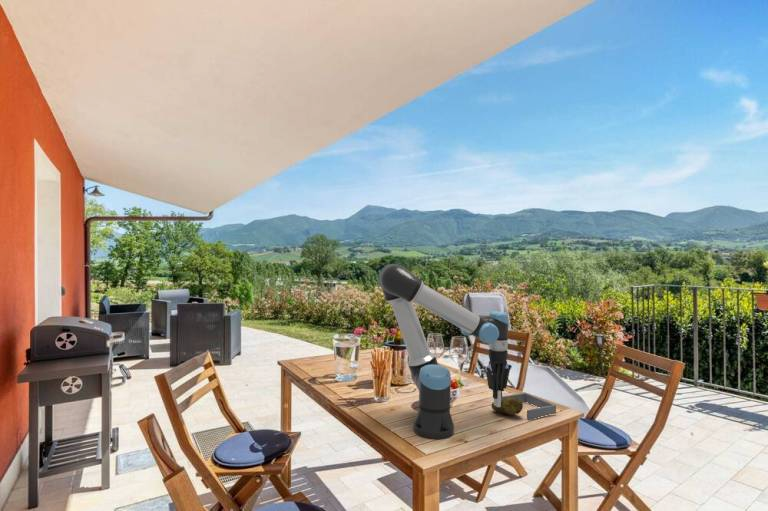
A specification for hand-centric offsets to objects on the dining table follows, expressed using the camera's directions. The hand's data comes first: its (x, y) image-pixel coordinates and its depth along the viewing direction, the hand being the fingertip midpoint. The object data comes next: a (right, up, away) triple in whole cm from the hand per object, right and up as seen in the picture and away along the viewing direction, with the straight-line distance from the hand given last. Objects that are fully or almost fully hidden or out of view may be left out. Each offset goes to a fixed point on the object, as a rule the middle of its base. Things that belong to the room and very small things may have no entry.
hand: (497, 405), depth 177 cm
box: (+15, -4, +7) cm, 17 cm away
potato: (+4, -5, +1) cm, 6 cm away
